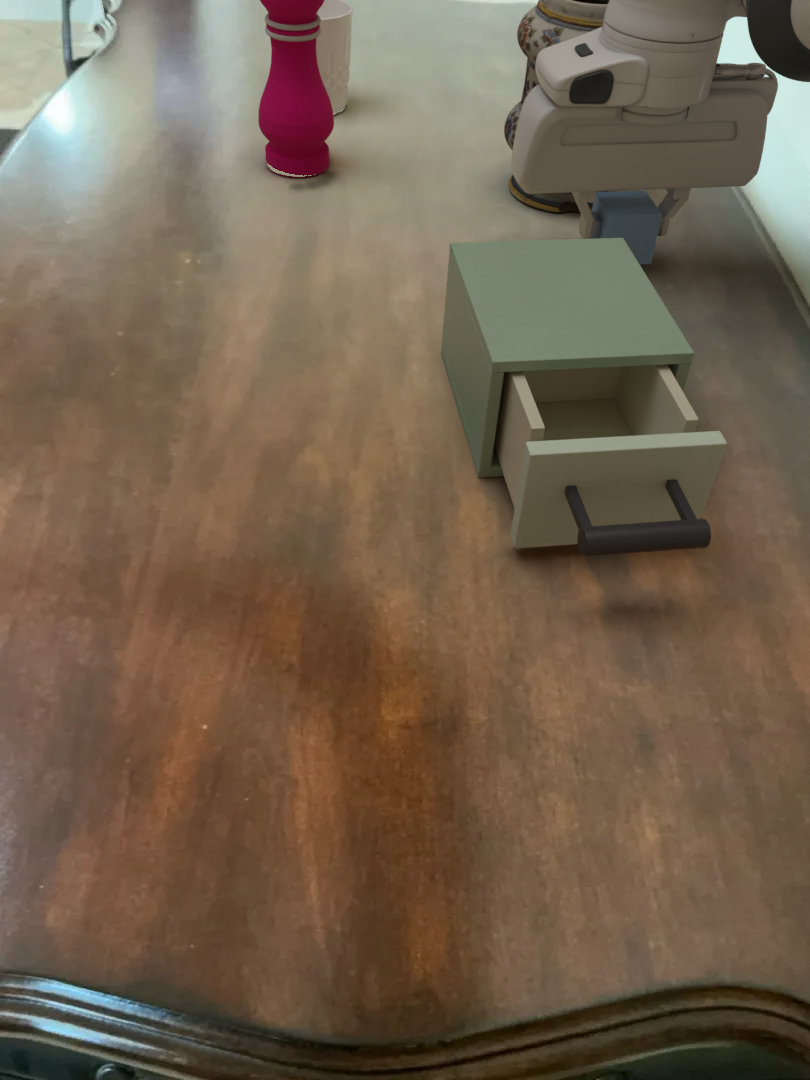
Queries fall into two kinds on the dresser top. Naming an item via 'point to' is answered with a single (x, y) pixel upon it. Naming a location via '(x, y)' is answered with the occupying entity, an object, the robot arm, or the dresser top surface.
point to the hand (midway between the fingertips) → (621, 234)
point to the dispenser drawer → (605, 460)
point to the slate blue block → (630, 220)
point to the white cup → (335, 50)
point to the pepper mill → (295, 91)
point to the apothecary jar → (560, 15)
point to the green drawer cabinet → (546, 322)
